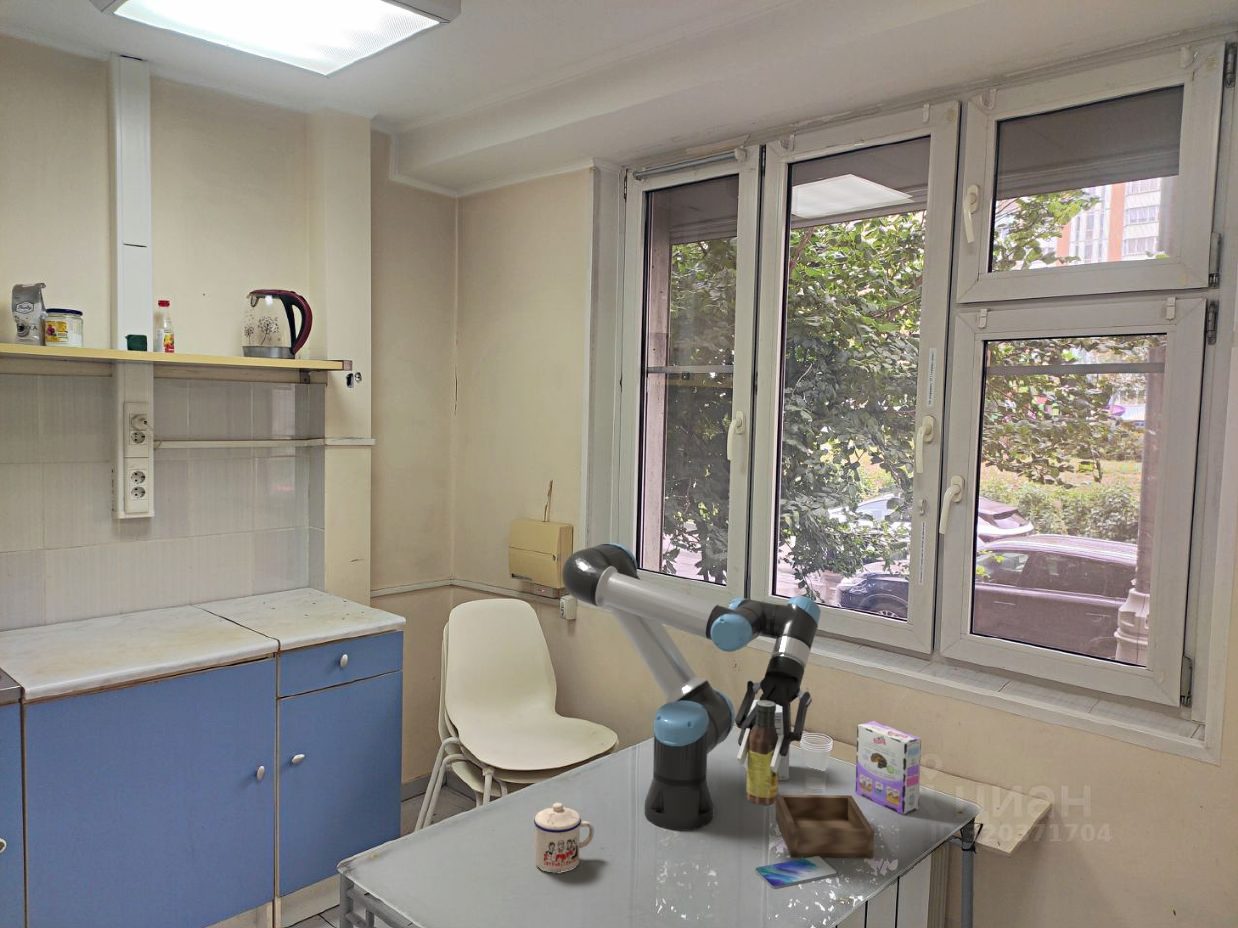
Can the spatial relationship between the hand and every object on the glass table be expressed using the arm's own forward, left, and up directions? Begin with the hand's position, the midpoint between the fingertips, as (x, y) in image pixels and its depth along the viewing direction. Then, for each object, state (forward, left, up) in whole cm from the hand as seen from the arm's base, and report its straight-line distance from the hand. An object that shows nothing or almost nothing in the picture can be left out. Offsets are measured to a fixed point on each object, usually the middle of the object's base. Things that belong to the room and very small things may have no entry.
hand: (756, 765), depth 175 cm
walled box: (+15, +8, -19) cm, 26 cm away
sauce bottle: (+2, +3, -9) cm, 9 cm away
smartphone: (+7, -6, -19) cm, 21 cm away
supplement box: (+9, +41, -19) cm, 46 cm away
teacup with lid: (-38, -3, -19) cm, 42 cm away
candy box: (+34, +26, -19) cm, 47 cm away
